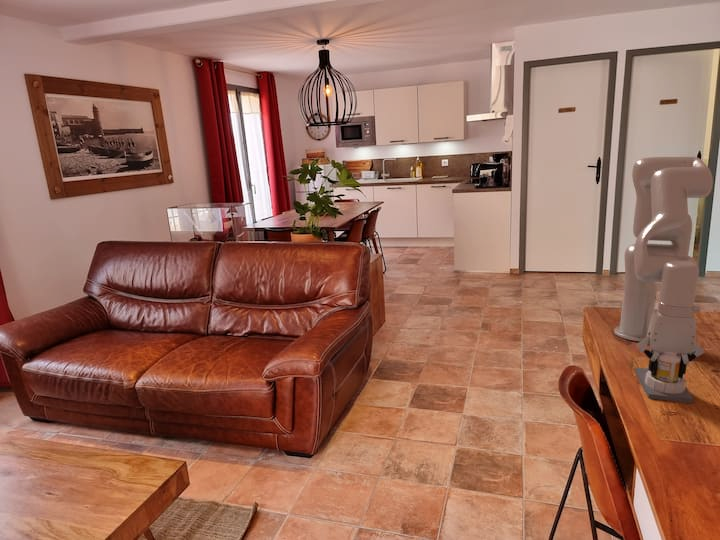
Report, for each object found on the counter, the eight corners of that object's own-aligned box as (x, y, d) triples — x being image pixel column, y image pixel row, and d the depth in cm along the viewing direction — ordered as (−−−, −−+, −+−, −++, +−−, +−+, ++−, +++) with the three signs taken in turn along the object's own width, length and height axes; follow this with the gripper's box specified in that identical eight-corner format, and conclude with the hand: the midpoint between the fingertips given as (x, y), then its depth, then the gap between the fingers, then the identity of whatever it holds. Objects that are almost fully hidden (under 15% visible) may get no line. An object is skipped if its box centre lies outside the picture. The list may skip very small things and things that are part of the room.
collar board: (634, 371, 140) (636, 359, 139) (674, 375, 137) (676, 363, 136) (648, 398, 125) (650, 385, 124) (693, 403, 122) (695, 389, 121)
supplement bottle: (670, 376, 131) (675, 342, 128) (681, 386, 125) (686, 351, 123) (649, 376, 131) (653, 342, 129) (659, 385, 126) (664, 350, 124)
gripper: (709, 307, 124) (698, 372, 129) (634, 302, 129) (626, 365, 134) (720, 317, 117) (709, 385, 122) (640, 311, 123) (632, 377, 127)
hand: (666, 374), depth 128 cm, fingers closed on supplement bottle, 5 cm apart
